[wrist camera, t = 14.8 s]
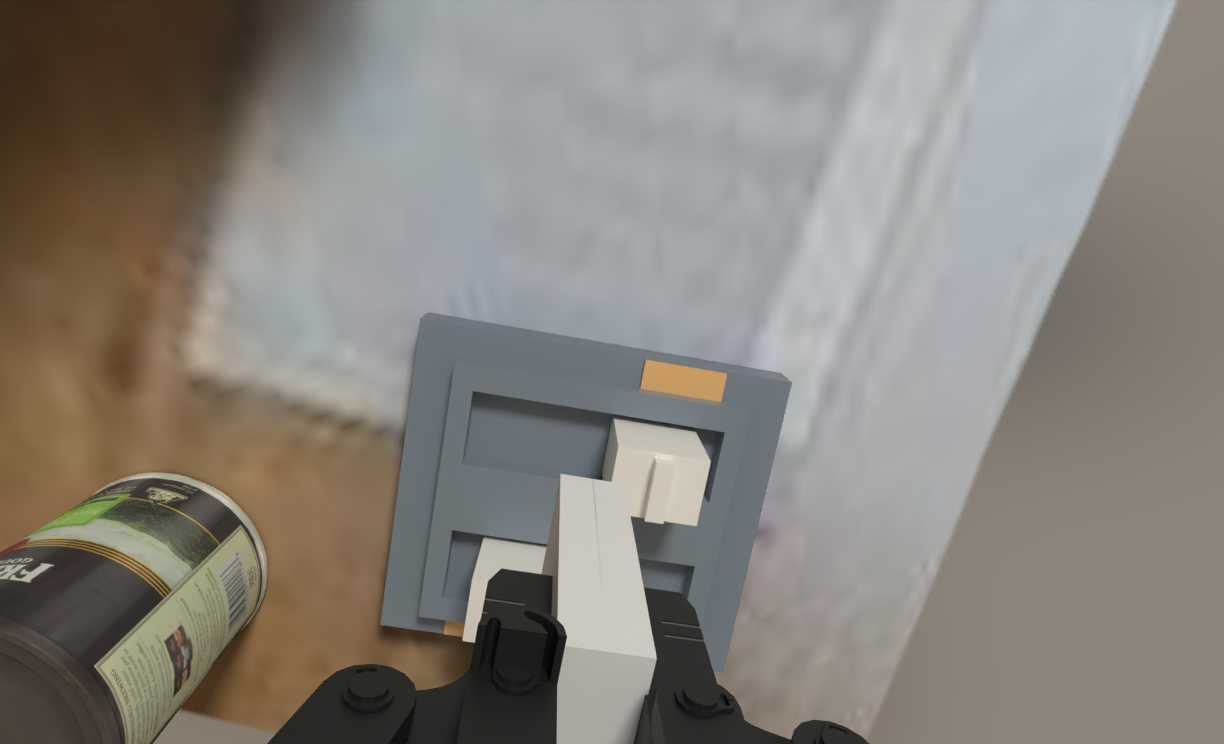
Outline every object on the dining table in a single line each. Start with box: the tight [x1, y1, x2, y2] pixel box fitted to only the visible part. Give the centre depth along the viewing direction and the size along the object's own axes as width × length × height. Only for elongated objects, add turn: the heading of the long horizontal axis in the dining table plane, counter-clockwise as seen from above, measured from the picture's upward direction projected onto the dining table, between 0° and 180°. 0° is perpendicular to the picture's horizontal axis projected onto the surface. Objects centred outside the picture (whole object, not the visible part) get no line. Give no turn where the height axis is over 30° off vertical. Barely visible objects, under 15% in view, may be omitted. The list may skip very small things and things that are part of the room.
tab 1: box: [462, 535, 547, 643], centre depth 36 cm, size 4×3×6 cm
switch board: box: [380, 313, 792, 672], centre depth 39 cm, size 18×16×3 cm
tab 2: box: [602, 414, 711, 526], centre depth 35 cm, size 4×3×6 cm
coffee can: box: [0, 472, 268, 744], centre depth 33 cm, size 10×10×14 cm
